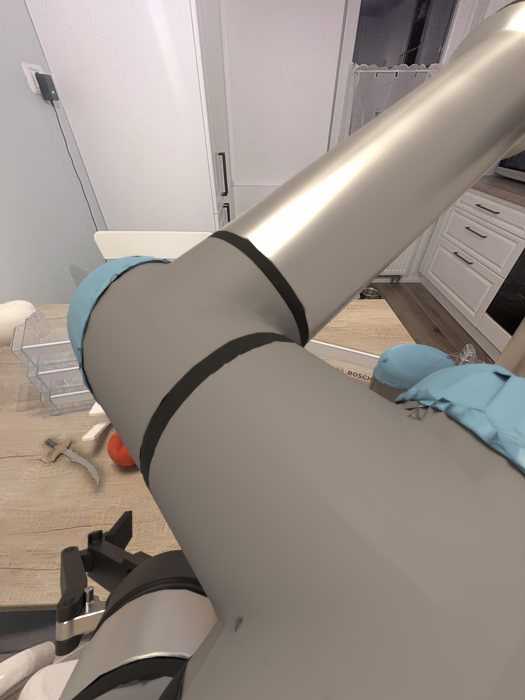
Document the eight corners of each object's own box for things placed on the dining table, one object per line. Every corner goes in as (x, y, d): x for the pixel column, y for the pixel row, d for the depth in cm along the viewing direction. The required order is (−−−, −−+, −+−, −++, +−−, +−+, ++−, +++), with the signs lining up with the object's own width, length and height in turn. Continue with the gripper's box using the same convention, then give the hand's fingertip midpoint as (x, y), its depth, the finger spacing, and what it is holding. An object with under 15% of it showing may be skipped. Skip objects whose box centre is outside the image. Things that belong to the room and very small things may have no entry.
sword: (117, 465, 58) (96, 487, 55) (119, 468, 59) (98, 489, 55) (56, 430, 64) (33, 447, 60) (58, 433, 65) (35, 450, 61)
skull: (42, 323, 103) (51, 340, 91) (-18, 338, 94) (-17, 358, 82) (29, 291, 98) (36, 304, 86) (-37, 302, 88) (-39, 319, 76)
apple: (138, 435, 64) (127, 412, 59) (160, 453, 61) (151, 429, 56) (107, 460, 59) (93, 437, 54) (129, 481, 56) (116, 458, 51)
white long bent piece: (100, 427, 56) (107, 449, 59) (126, 378, 75) (130, 396, 77) (78, 430, 56) (86, 452, 58) (109, 380, 74) (114, 398, 76)
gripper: (-203, 897, 10) (71, 571, 31) (418, 696, 15) (297, 530, 36) (-167, 649, 12) (73, 495, 32) (393, 537, 16) (291, 465, 37)
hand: (191, 513), depth 34 cm, fingers open, 13 cm apart
